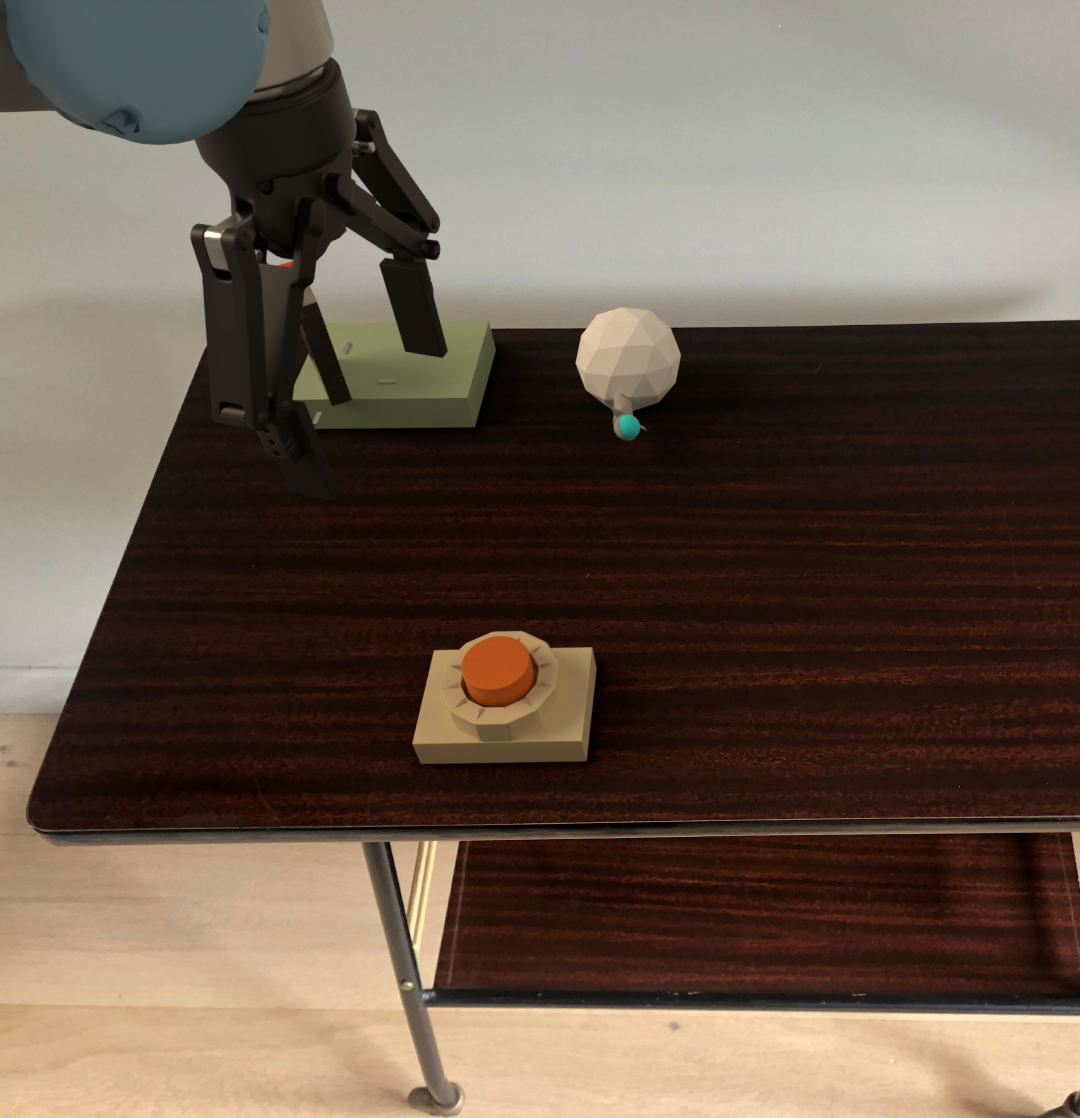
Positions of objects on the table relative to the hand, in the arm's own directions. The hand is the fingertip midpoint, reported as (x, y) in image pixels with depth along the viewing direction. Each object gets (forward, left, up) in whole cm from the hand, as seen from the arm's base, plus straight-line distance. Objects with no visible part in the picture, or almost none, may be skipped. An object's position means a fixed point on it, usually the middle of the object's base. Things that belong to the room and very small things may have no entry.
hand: (374, 417), depth 69 cm
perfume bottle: (+19, +9, -14) cm, 25 cm away
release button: (+1, -14, -10) cm, 18 cm away
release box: (+1, -14, -14) cm, 20 cm away
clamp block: (+2, +20, -14) cm, 24 cm away
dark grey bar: (-1, +20, -11) cm, 23 cm away
